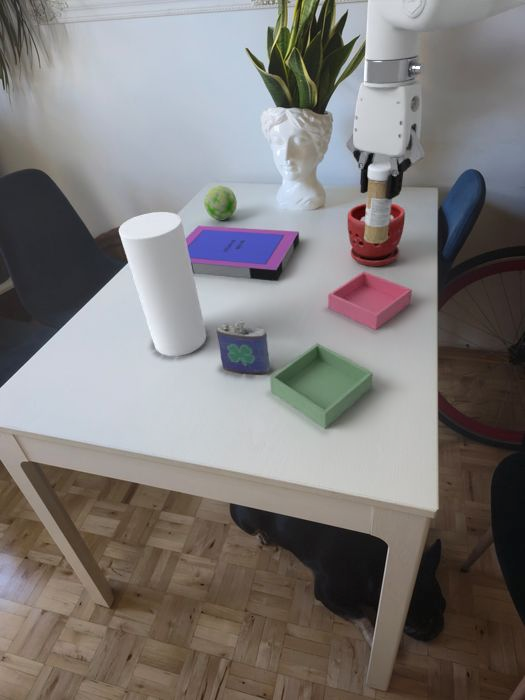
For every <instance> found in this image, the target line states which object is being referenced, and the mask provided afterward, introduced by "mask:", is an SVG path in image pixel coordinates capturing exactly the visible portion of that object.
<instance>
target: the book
mask: <svg viewBox="0 0 525 700" xmlns="http://www.w3.org/2000/svg"><path fill="white" fill-rule="evenodd" d="M185 238H186V242H187V247H188V252H189V256H190V261H191V266H192V271H193V274H197V275H200V274H201V275H207V276H208V275H209V276H219V277H229V278H240V279H241V278H242V279H250V280H261V281H262V280H263V281H273V282H278V280H279V278H280V276H281V275H282V273H283V271H284V269H285V268H286V266H287V264H288V262H289V261H290V259H291V257H292V255H293V254H294V252H295V250H296V249H297V247H298V245H299V243H300V231H297V230H282V229H281V230H279V229H263V228H244V227H231V226H230V227H228V226H214V225H213V226H211V225H197V226H196V228H194V229H193V231H191V232H190V233H189V234H188V235H187V236H186V237H185Z"/></svg>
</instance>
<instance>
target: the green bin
mask: <svg viewBox="0 0 525 700" xmlns="http://www.w3.org/2000/svg"><path fill="white" fill-rule="evenodd" d="M373 376H374V373H373V372H372V371H370V370H368V369H367V368H365V367H362V366H361V365H359V364H357V363H355V362H353V361H351V360H350V359H348V358H346V357H344V356H343V355H341V354H338V353H337V352H335V351H333V350H331V349H329V348H328V347H326V346H323V345H321V344H320V343H318V342H317V343H315V344H314V345H312V346H311V347H310V348H309V349H307V350H306V351H304V352H303V353H302V354H300V355H299V356H297V357H296V358H295V359H293V360H292V361H291V362H289V363H287V364H286V365H285V366H284V367H282V368H281V369H279V370H278V371H277V372H275V373H274V374H272V375H271V376H270V377H269V384H270V392H271V394H274V395H275V396H276V397H278V398H279V399H281V400H282V401H284V402H285V403H287V404H288V405H290V406H291V407H293V409H295V410H296V411H298V412H299V413H301V414H302V415H304V416H306V417H307V418H309V419H310V420H312V421H313V422H315V423H316V424H317V425H319V426H321V427H322V428H323V429H327V428H328V427H329V426H330V425H331V424H332V423H333V422H335V421H336V420H337V419H338V418H339V417H340V416H341V415H342V414H344V413H345V412H346V411H347V410H348V409H350V407H351V406H353V405H354V404H355V403H356V402H357V401H358V400H359V399H361V398H362V397H363V396H364V395H365V394H367V393H368V391H370V390H371V389H372V387H373Z"/></svg>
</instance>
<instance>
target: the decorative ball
mask: <svg viewBox="0 0 525 700" xmlns="http://www.w3.org/2000/svg"><path fill="white" fill-rule="evenodd" d="M203 202H204V203H203V204H204V205H203V206H204V209H205V210H206V213H207V214H208V216H210V217H212V218H213V219H215V220H219V221H224V220H227V219H229V218H231V217H232V216H233V215H234V213H235V211H236V210H237V205H238V202H237V197H236V196H235V193H234V191H233V190H232V189H231V188H230V187H227V186H225V185H215V186H213V187H212V188H210V189H208V191H207V192H206V194H205V197H204V201H203Z"/></svg>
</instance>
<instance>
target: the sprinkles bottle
mask: <svg viewBox="0 0 525 700" xmlns="http://www.w3.org/2000/svg"><path fill="white" fill-rule="evenodd" d="M391 174H392V173H391V164H390V161H377V162H376V161H375V162H373V163H372V164H370V165H369V167H368V191H367V192H366V194H367V195H366V201H365V202H366V203H365V204H366V215H365V217H364V222H365V234H364V240H365V241H367V242H369V243H383V242H385V241H387V240H388V227H389V222H390V219H391V215H390V212H391V204H393V203H392V202H393V198H392V199H390V200H389V199H387V198H386V192H387V182H388V176H389V175H391Z"/></svg>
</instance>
